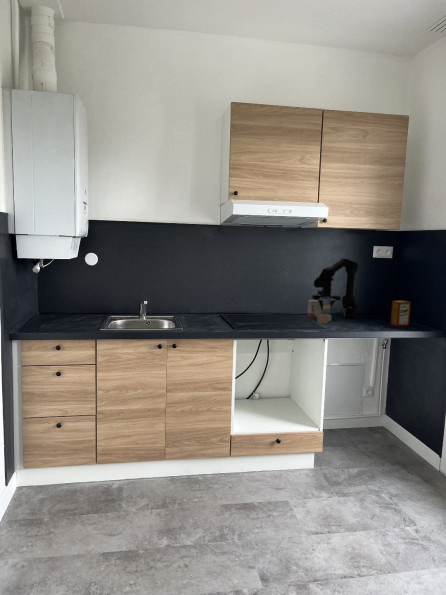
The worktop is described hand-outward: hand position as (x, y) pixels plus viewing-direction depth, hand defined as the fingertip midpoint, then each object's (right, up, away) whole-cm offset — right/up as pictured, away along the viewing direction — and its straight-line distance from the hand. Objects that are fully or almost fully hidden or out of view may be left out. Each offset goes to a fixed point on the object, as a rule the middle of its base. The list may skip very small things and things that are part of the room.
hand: (325, 310), depth 307 cm
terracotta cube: (-5, -8, -10) cm, 14 cm away
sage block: (0, -7, +1) cm, 7 cm away
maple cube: (0, -1, 0) cm, 1 cm away
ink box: (-5, -5, +13) cm, 15 cm away
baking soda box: (+47, -10, -10) cm, 49 cm away
